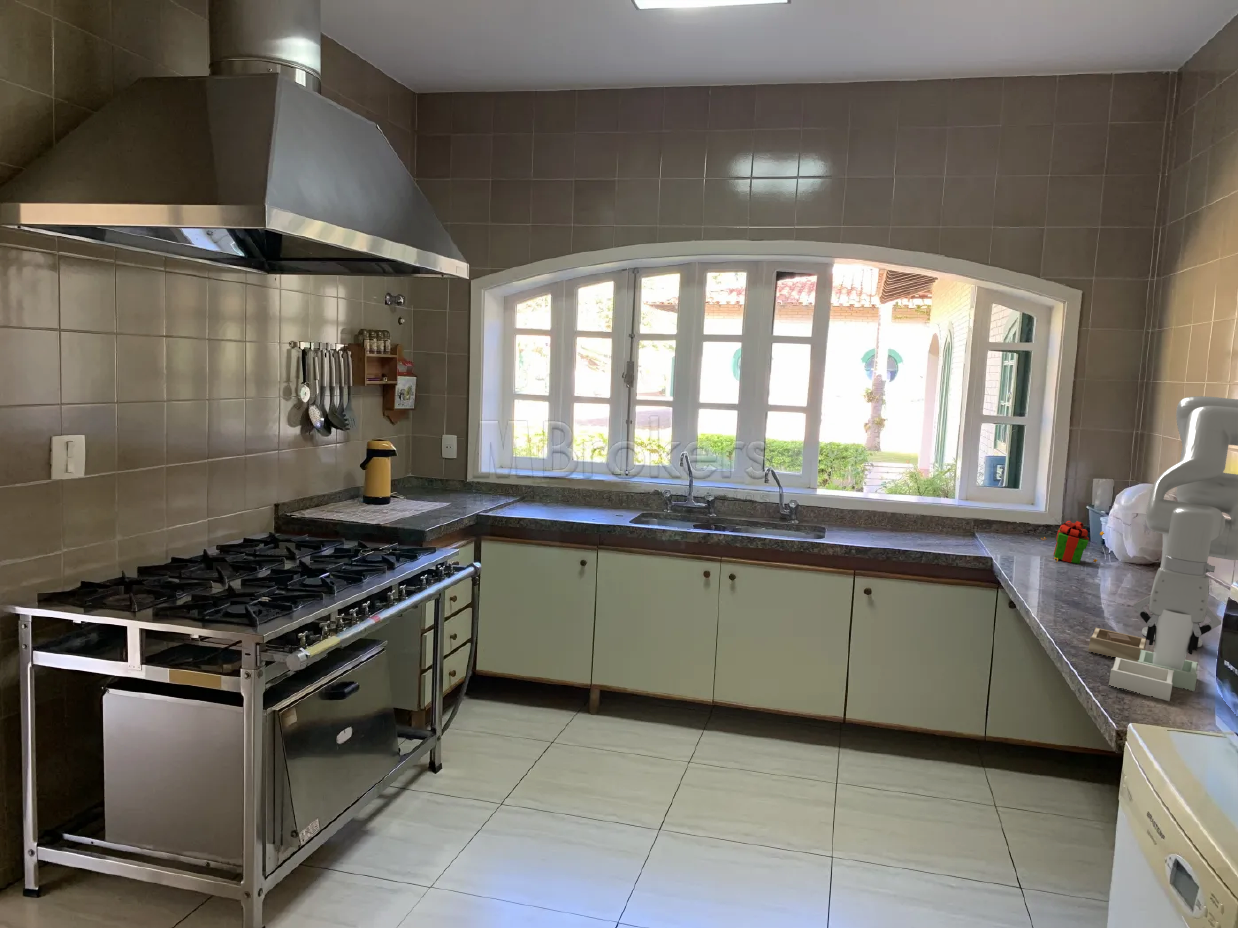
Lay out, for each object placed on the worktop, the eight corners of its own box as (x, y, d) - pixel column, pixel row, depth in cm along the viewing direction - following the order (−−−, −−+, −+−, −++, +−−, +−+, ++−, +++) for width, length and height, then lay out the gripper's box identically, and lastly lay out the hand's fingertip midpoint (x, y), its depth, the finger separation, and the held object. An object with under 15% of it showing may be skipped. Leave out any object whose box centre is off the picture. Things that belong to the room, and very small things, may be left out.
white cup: (1187, 686, 179) (1200, 617, 177) (1150, 679, 181) (1162, 610, 179) (1179, 675, 185) (1192, 608, 183) (1144, 668, 188) (1155, 602, 186)
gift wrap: (1096, 574, 288) (1108, 534, 284) (1036, 559, 295) (1047, 519, 292) (1093, 560, 305) (1105, 522, 302) (1036, 545, 313) (1047, 508, 309)
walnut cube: (1104, 648, 200) (1107, 632, 200) (1124, 652, 199) (1126, 635, 199) (1108, 654, 197) (1111, 637, 196) (1128, 657, 195) (1130, 640, 195)
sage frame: (1138, 664, 190) (1140, 649, 190) (1195, 677, 185) (1197, 662, 184) (1134, 676, 182) (1137, 661, 182) (1194, 691, 176) (1197, 674, 176)
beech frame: (1092, 641, 205) (1095, 627, 205) (1144, 653, 199) (1146, 638, 199) (1088, 651, 197) (1090, 637, 196) (1141, 664, 191) (1144, 649, 190)
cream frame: (1113, 672, 184) (1115, 656, 183) (1171, 686, 178) (1174, 670, 177) (1108, 685, 175) (1111, 669, 175) (1169, 701, 169) (1172, 684, 169)
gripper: (1234, 572, 178) (1219, 654, 181) (1138, 555, 188) (1124, 633, 190) (1235, 578, 172) (1219, 663, 174) (1135, 560, 182) (1122, 641, 184)
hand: (1170, 647), depth 182 cm, fingers closed on white cup, 6 cm apart
